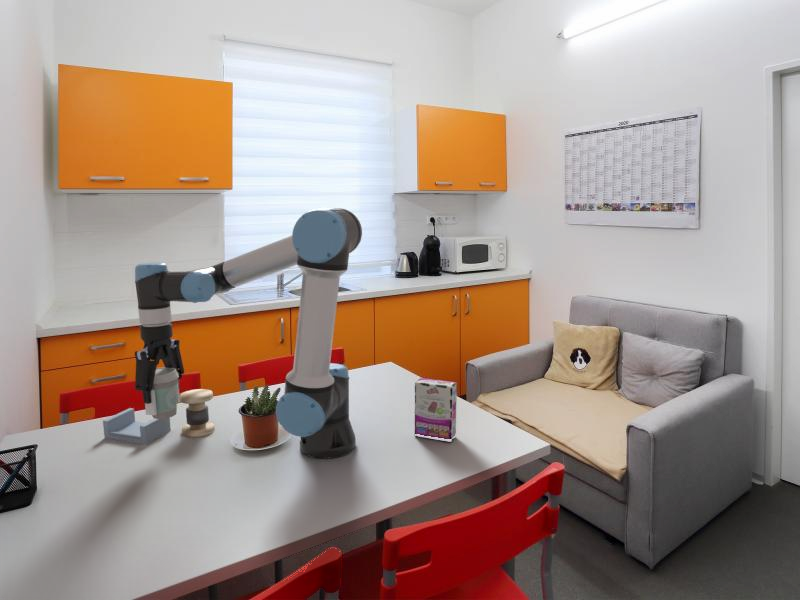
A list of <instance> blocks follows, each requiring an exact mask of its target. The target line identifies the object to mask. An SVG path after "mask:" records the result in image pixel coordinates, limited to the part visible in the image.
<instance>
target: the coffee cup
mask: <svg viewBox="0 0 800 600" xmlns="http://www.w3.org/2000/svg"><path fill="white" fill-rule="evenodd" d="M178 377H179V375H178V373H177V371H176V369H175V368H167V367H165V366H164V367H163V366H162V367H156V372H155V377H154V381H153V386H152V390H155V399H156V410H157V415H151V416H152V419H154V418H155V419H166V418H170V419H171V418H173V417H174V416H176V415H177V407H178V406H177V405H178V403H177V384H178ZM147 386H148V385H147Z"/></svg>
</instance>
